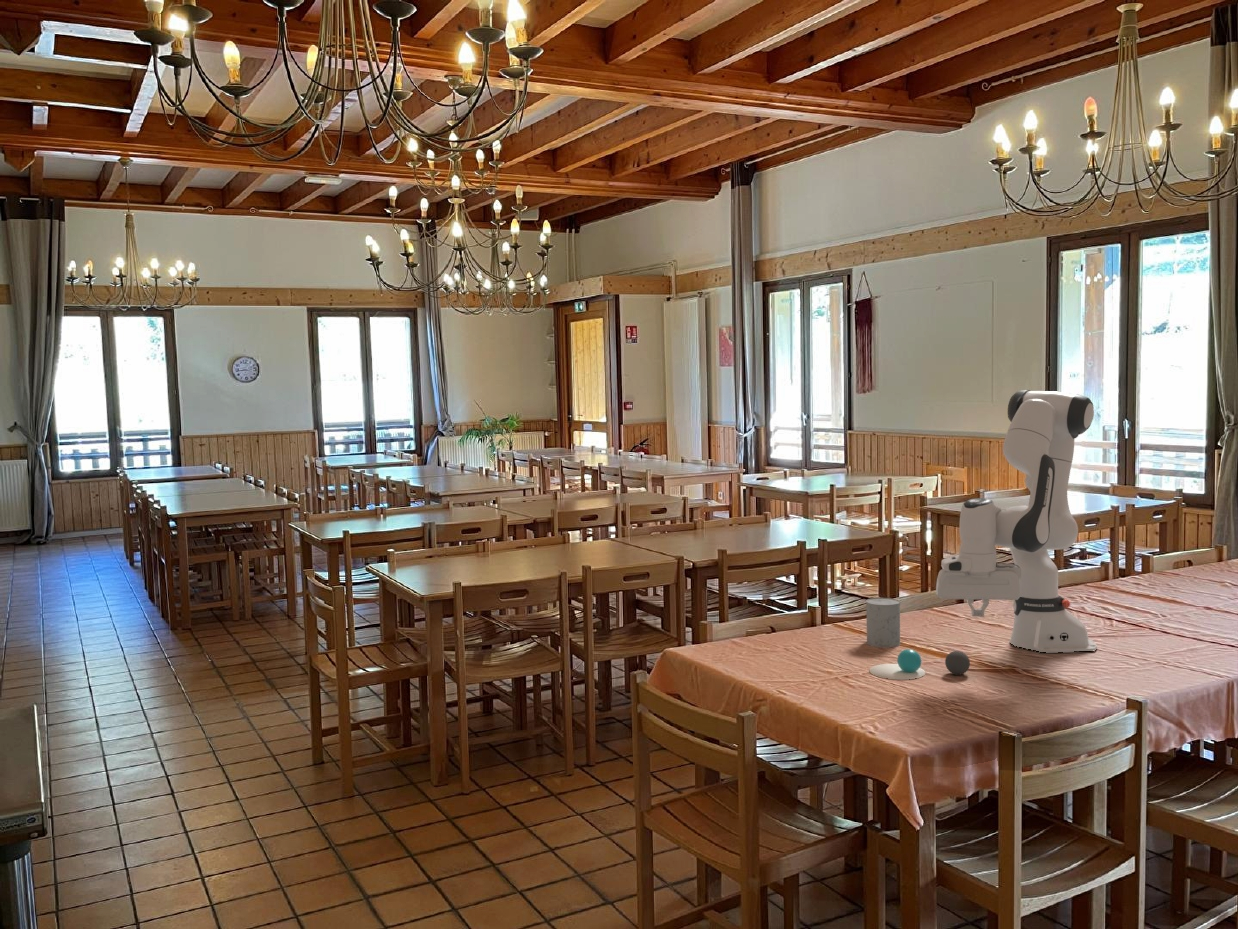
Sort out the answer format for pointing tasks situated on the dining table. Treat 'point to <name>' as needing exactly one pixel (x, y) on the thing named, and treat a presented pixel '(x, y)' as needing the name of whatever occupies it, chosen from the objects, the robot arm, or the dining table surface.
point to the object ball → (909, 660)
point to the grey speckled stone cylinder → (883, 622)
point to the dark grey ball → (957, 662)
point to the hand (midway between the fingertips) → (977, 616)
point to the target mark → (895, 672)
